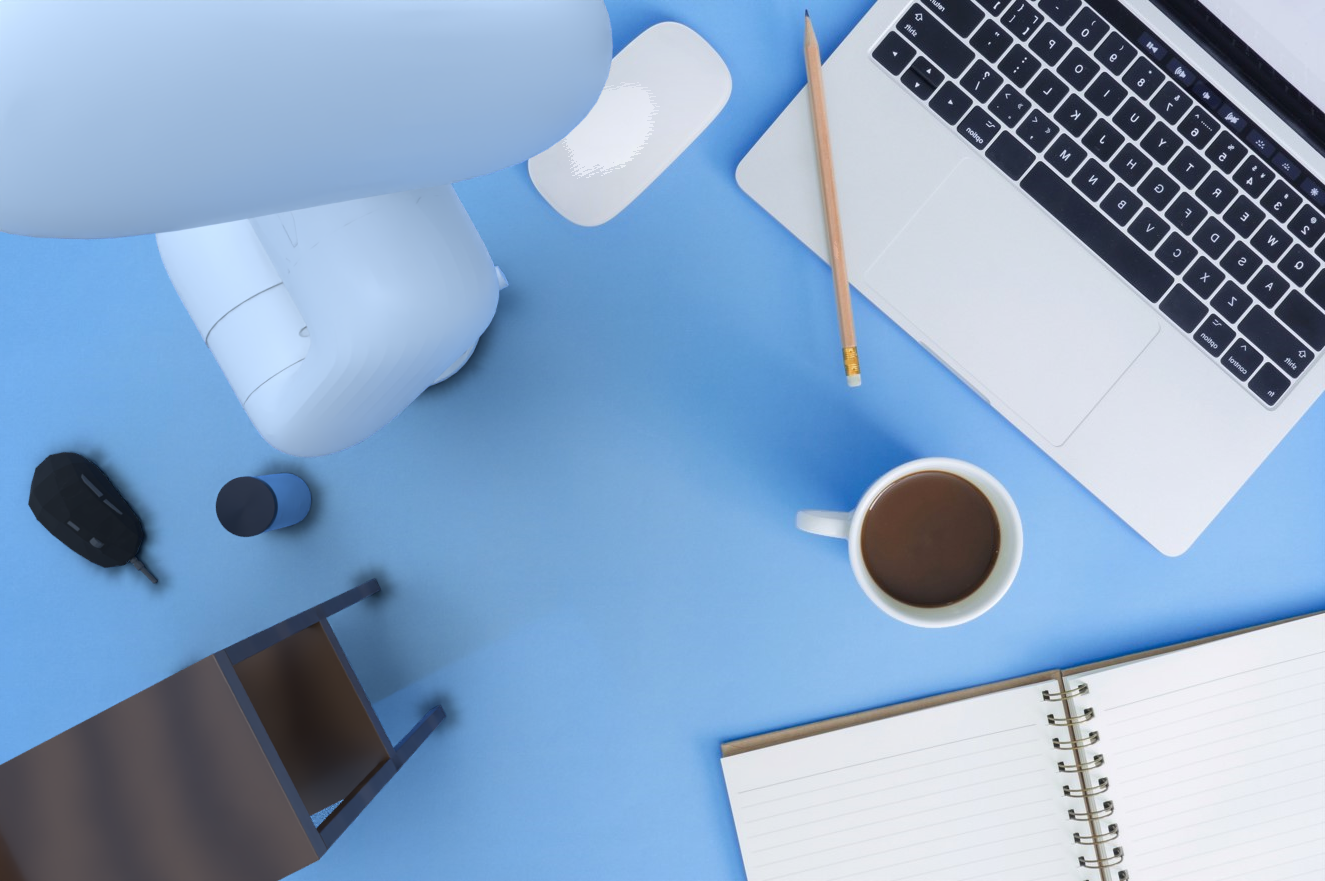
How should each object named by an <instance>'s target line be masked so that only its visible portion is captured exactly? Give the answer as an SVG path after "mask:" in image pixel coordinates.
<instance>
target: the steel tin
mask: <svg viewBox="0 0 1325 881" xmlns="http://www.w3.org/2000/svg"><path fill="white" fill-rule="evenodd" d="M311 505H312V493H311V490H310V488H309V486H308V484H307V483H306V482H305V481H304V480H303V479H302V478H301V477H300V476H297V475H296V474H294V473H290V472H281V473H273V474H272V473H271V474H264V475H255V476H252V475H245V476H244V475H243V476H238V477H235V478H232V479H230V480H229V481H227V482H226V483H225V484H224V485H223V486H222V487H221V488H220V490H219V492H218V494H217V496H216V500H215V513H216V516H217V519H218V522H219V523H220V525H221V526H222V527H223V529H225V530H226V531H227V532H229V533H230V534H231V535H234V536H236V537H240V538H253V537H255V536H260V535H261V534H263V533H267V532H271V531H275V530H278V529H283V528H288V527H291V526H294V525H297V524H299V523H300V522H302V521H303V520H304V519H305V518H306V517H307V515H308V514H309V512H310V510H311Z"/></svg>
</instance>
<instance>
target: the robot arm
mask: <svg viewBox="0 0 1325 881" xmlns="http://www.w3.org/2000/svg"><path fill="white" fill-rule="evenodd" d="M613 49H614V44H613V29H612V23H611V18H610V14H609V12H608V9H607V6H606V3H605V1H604V0H0V232H1V233H4V234H8V235H12V236H14V235H15V236H19V237H20V236H21V237H28V238H36V239H56V240H57V239H58V240H88V241H89V240H109V239H121V238H131V237H139V236H146V235H154V236H155V242H156V246H157V251H158V253H159V256H160V259H161V262H162V265H163V267H164V269H165V272H166V274H167V277H168V278H169V280H170V283H171V284H172V286H173V288H174V291H175V292H176V294H177V296H178V298H179V300H180V301H181V303H182V305H183V307H184V308H185V310H186V312H187V314H188V315H189V317H190V319H191V321H192V323H193V324H194V326H195V327H196V329H197V331H198V333H199V334H200V336H201V338H202V341H203V342H204V343H205V345H206V347H207V349H209V350H210V352H211V354H212V356H213V357H214V360H215V362H216V364H217V365H218V367H219V369H220V370H221V372H222V374H223V376H224V377H225V380H226V381H227V382H228V384H229V386H230V388H231V390H232V391H233V394H234V395H235V397H236V399H237V400H238V402H239V404H240V405H241V407H242V410H243V411H244V412H245V413H246V415H247V417H248V419H249V420H250V422H251V424H252V425H253V427H254V428H255V430H256V431H257V433H258V434H259V435H260V436H261V438H262V439H263V440H264V441H265V442H266V443H267V445H269V446H270V447H272V448H273V449H274V450H276V451H278V452H280V453H283V454H285V455H288V456H292V457H296V458H310V459H311V458H321V457H327V456H332V455H335V454H339V453H342V452H343V451H346V450H349V449H351V448H353V447H355V446H357V445H359V444H361V443H363V442H364V441H366V440H368V439H369V438H371V437H372V436H374V435H375V434H377V433H378V432H379V431H381V430H382V429H384V428H385V427H386V426H388V425H389V424H390V423H391V422H392V421H393V420H394V419H395V418H397V417H398V416H399V415H400V414H401V413H403V411H405V409H407V408H408V407H409V406H410V405H411V404H412V403H413V402H414V401H415V400H416V399H418V397H419V396H420V395H422V393H423V392H425V390H427V389H428V388H429V387H431V386H434V385H436V384H439V383H441V382H444V381H447V380H448V379H449V378H451V377H452V376H453V375H456V373H458V372H459V371H460V370H461V369H462V368H463V367H464V366H465V365H466V364H467V362H468V361H469V359H470V358H471V356H472V355H473V353H474V352H475V349H476V347H477V346H478V343H479V340H480V337H481V336H482V335H483V334H484V333H485V331H486V330H487V329H488V328H489V326H490V324H491V323H492V321H493V319H494V316H495V315H496V313H497V308H498V304H499V300H500V291H502V290H504V289H505V288H507V287H510V284H509V281H508V279H507V277H506V275H505V274H504V272H503V271H502V269H501V267H500V266H499V265H496V266H495V264H494V261H493V259H492V257H491V254H490V252H489V250H488V248H487V246H486V244H485V242H484V240H483V238H482V237H481V235H480V233H479V230H478V229H477V228H476V225H475V223H474V222H473V219H472V218H471V217H470V214H469V212H468V211H467V210H466V208H465V205H464V204H463V202H462V201H461V199H460V197H459V195H458V193H457V191H456V190H455V188H454V185H453V184H457V183H461V182H465V181H470V180H473V179H477V178H481V177H485V176H489V175H492V174H495V173H498V172H501V171H504V170H507V169H510V168H512V167H515V166H517V165H520V164H522V163H524V162H527V161H528V160H530V159H532V158H535V157H537V156H538V155H539V154H541V153H542V154H543V152H545V151H547V150H549V149H551V148H552V147H554V146H555V145H556V144H558V143H559V142H561V141H562V140H564V139H565V138H566V137H567V136H568V135H570V133H572V132H573V131H574V130H575V129H576V128H577V127H578V126H579V125H580V124H581V123H582V122H583V121H584V120H585V118H586V117H588V115H589V113H590V112H591V111H592V110H593V108H594V107H595V105H596V104H597V103H598V101H599V99H600V96H601V95H602V92H603V90H604V88H605V87H606V83H607V81H608V78H609V76H610V71H611V67H612V61H613Z"/></svg>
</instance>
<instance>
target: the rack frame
mask: <svg viewBox="0 0 1325 881" xmlns="http://www.w3.org/2000/svg"><path fill="white" fill-rule="evenodd" d="M380 591H381V587H380V586H379V584H378V582H377V580H376V578H372V579H369V580H368V581H366V582H363V583H362V584H359V585H357V586H355V587H353V588H351V589H349V590H347V591H344V592H342V593H340V594H337V595H336V596H333V597H331V598H329V599H327V600H324V601H323V602H321V603H318V604H317V605H314V606H312V607H310V608H307V609H305V610H304V611H301V612H299V613H297V614H295V615H292V616H290V617H288V618H286V619H284V620H282V621H280V622H277V623H276V624H273V625H271V626H270V627H267V628H265V629H262V630H261V631H259V632H256V633H254V634H252V635H250V636H247V637H245V638H243V639H241V640H239V641H237V642H235V643H232V644H230V645H228V646H226V647H224V648H223V649H224V651H225V653H226V655H227V657H228V659H229V661H230V662H231V664H232V666H233V668H234V670H235V672H236V674H237V676H238V678H239V680H240V682H241V684H242V686H243V688H244V690H245V692H246V693H247V695H248V697H249V699H250V701H251V703H252V705H253V707H254V709H255V711H256V713H257V715H258V717H259V719H260V721H261V722H262V724H263V726H264V728H265V730H266V732H267V734H268V736H269V738H270V740H271V742H272V744H273V746H274V748H275V750H276V752H277V753H278V755H279V757H280V759H281V761H282V763H283V765H284V767H285V769H286V771H287V773H288V775H289V777H290V779H291V781H292V783H293V784H294V786H295V788H296V790H297V792H298V794H299V796H300V798H301V800H302V802H303V804H304V806H305V808H306V810H307V812H308V814H309V815H310V817H312V816H313V815H316V814H318V813H319V812H322V811H324V810H325V809H327V808H329V807H332V806H333V805H336V804H338V803H339V804H338V805H336V807H335V808H334V809H333V810H332V811H331V812H330V813H329V814H328V815H327V816H326V817H325V818H324V819H323V821H322V822H320V823H319V824H318V826H316V829H317V831H318V833H319V835H320V837H321V839H322V841H323V843H324V844H325V846H326V848H327V851H329V849H330V848H331V847H332V846H333V845H334V844H335V843H336V842H337V840H339V838H340V837H341V836H342V835H343V834H344V833H345V832H346V830H348V828H349V827H350V826H351V825H352V824H353V823H354V822H355V820H356V819H357V818H358V817H359V816H360V815H361V814H362V812H363V811H364V810H365V809H366V808H367V807H368V805H369V804H370V803H371V802H372V801H373V800H374V799H375V798H376V797H377V795H378V794H379V793H380V792H381V791H382V790H383V789H384V788H385V786H386V785H387V784H388V783H389V782H390V781H391V780H392V779H393V777H394V776H395V775H396V774H397V773H398V772H399V771H400V770H401V768H403V766H404V765H405V764H406V763H407V762H408V761H409V759H411V757H412V756H413V755H414V754H415V753H416V752H417V750H418V749H419V748H420V747H421V746H422V744H424V742H425V741H426V740H427V739H428V738H429V737H430V736H431V735H432V734H433V732H434V731H435V730H436V729H437V728H438V727H439V726H440V724H442V722H443V721H444V720H445V719H446V718H447V715H446V713H445V710H444V709H443V707H442V705H440V704H439V705H437V706H436V707H433V708H431V709H430V710H428V711H427V712H426V713H425V715H423V717H422V718H421V719H420V720H419V721H418V722H417V723H416V724H415V725H414V726H413V727H412V728H411V729H410V730H409V731H408V732H407V733H406V734H405V735H404V736H403V737H402V738H401V740H399V741H398V743H397V744H396V745H394V746H393V744H392V742H391V740H390V738H389V737H388V734H387V733H386V730H385V729H384V726H383V725H382V722H381V721H380V719H379V717H378V715H377V713H376V711H375V709H374V707H373V706H372V703H371V701H370V700H369V698H368V696H367V694H366V692H365V690H364V688H363V686H362V684H361V681H360V680H359V678H358V676H357V674H356V673H355V671H354V669H353V667H352V664H351V663H350V661H349V659H348V657H347V655H346V653H345V652H344V649H343V648H342V647H343V646H342V645H341V644H340V642H339V640H338V637H337V636H336V633H335V632H334V630H333V628H332V626H331V624H330V622H329V620H328V618H329V617H331V616H334V615H335V614H337V613H339V612H341V611H344V610H345V609H347V608H349V607H351V606H353V605H355V604H357V603H359V602H360V601H363V600H365V599H366V598H369V597H371V596H373V594H376V593H379V592H380Z"/></svg>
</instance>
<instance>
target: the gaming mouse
mask: <svg viewBox="0 0 1325 881" xmlns="http://www.w3.org/2000/svg"><path fill="white" fill-rule="evenodd" d="M27 502H28V503H27V506H28V507H29V509H30V511H31V512H32V514H33V516H34V517H35V519H36V521H37V522H39V523H40V524H41V526H42V527H44V529H45V530H46V531H48V533H50V535H52V537H54V538H56V539H57V540H58V541H59V542H61V543H62V544H63V545H64V546H66V547H67V548H68V549H70V551H72V552H74V553H76V554H78V555H79V556H80V557H82V558H83V559H85V560H87V561H88V562H90V563H93V564H95V565H97V566H100V567H102V568H104V569H109V568H114V567H120V566H125V565H126V564H128V563H131V564H133V567H134V568H135V569H136V570H137V571H140V572H141V573H142V574H143V575H144V576H145V577H146V578H147V579H148V580H149V581H150V582H151V583H152V584H153V585H155V584H156V583H158V579H156V578H155V577H154V576H153V575H152V573H150V572H149V571H148V569H147V568H145V564H144V563H143V562H142V561H141V560H139V559H138V558H137V557H136V555H137V554H138V552H139V550H140V547H141V545H142V542H143V539H144V532H143V528H142V525H141V521H140V519H139V518H138V516H137V515H136V514H135V512H134V511H133V509H132V508H131V507H130V505H129V504H128V503H127V501H125V499H124V497H123V496H122V495H121V494H120V493H119V492H118V490H117V489H116V488H115V487H114V485H113V484H112V483H111V481H110V480H109V479H108V477H107V476H106V475H105V474H104V473H103V471H102V470H101V469H100V468H99V467H98V465H97V464H95V463H93V462H92V461H90V460H89V459H88V458H86V457H84V456H83V455H82V454H79V453H75V452H73V451H63V452H62V451H61V452H57V453H53V454H49V455H47V457H45V458H44V459H43V460H42V461H41V462H40V463H39V464H38V465H37V466H36V467H35V469H34V472H33V476H32V479H31V483H30V490H29V496H28V501H27Z"/></svg>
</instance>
